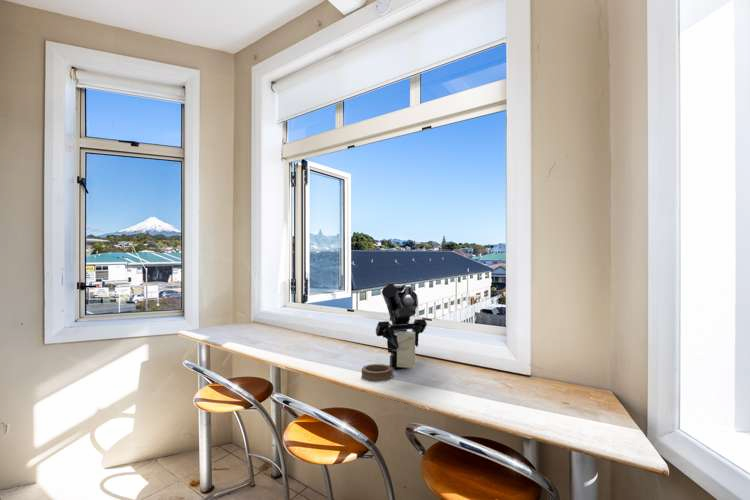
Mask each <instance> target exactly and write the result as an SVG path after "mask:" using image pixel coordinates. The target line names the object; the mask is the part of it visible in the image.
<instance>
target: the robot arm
mask: <svg viewBox="0 0 750 500" xmlns="http://www.w3.org/2000/svg"><path fill="white" fill-rule="evenodd" d="M381 294H382V297H383V299H384V302H385V304H386V307H387V311H388V314H389V321H388V320H385V321H378V323H377V325H376V328H375V334H376V336H377V337H382V338H385V339H386V345H387V346H386V347H387V353H388V354H390V356H389V366H390V367H392V370H395V371H399V370H407V369H409V368H405V367H397V349H398V342H397V333H398V332H399V331H408V330H411V332H415V348H416V347H419V334H422V333H424V331H425V329H426V327H427V326H428V323H427V320H426V319H424V318H417V319H414V321H413V322H411V323H410V320H411V317H413V316H415V315H416V313H417V312H416V310H417V308H418V307H419V299H418V294H417V293H416V292H415V291H414V290H413V287H412V286H411V285H405V284H394V282H393V283H392V282H391V283H388V284H387V285H385V286H384V287H383V289H382V290H381ZM408 295H409V296H408ZM390 322H391V323H390Z"/></svg>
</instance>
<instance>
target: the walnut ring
mask: <svg viewBox="0 0 750 500" xmlns="http://www.w3.org/2000/svg"><path fill="white" fill-rule="evenodd" d="M392 377H393V368H392V367H390V365H387V364H382V363H381V364H380V363H372V364H367V365H363V366H362V368H361V378H363V379H364V380H367V381H370V382H383V381H387V380H390V379H392Z"/></svg>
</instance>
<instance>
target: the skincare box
mask: <svg viewBox="0 0 750 500" xmlns="http://www.w3.org/2000/svg"><path fill="white" fill-rule="evenodd" d="M397 342H398V349H397V367H405V368H408V369H414V367H415V366H416V345H415V332H412V331H408V330H407V331H399V332H398V333H397Z"/></svg>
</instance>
